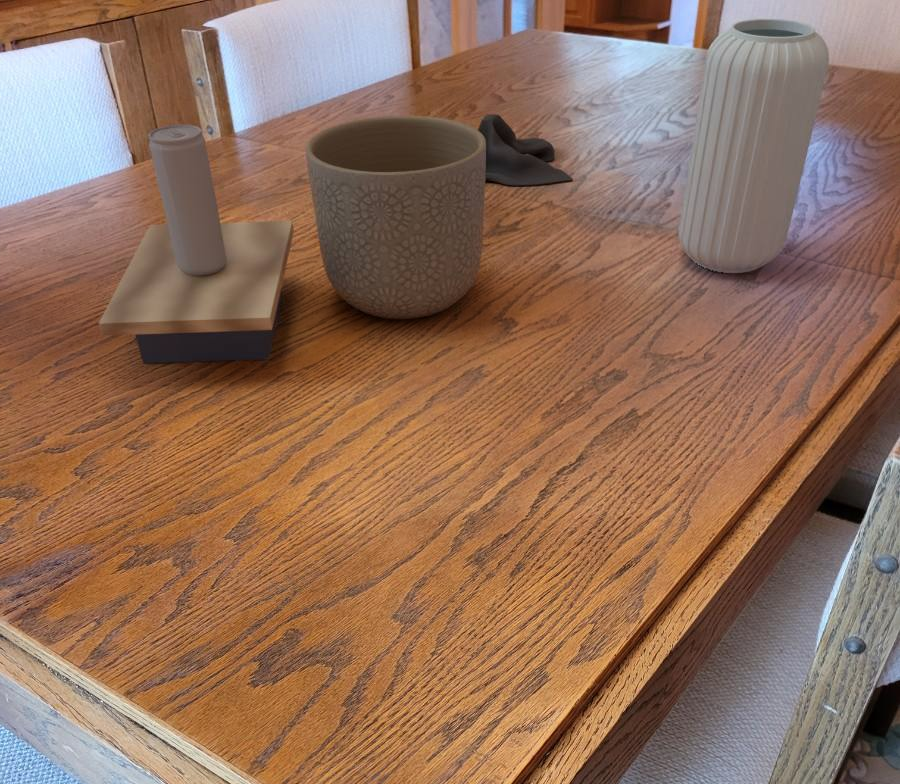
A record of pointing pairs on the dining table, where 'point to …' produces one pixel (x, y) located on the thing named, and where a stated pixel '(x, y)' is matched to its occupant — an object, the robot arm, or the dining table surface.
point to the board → (202, 284)
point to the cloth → (517, 156)
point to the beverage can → (188, 198)
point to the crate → (207, 345)
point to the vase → (751, 142)
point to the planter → (399, 211)
